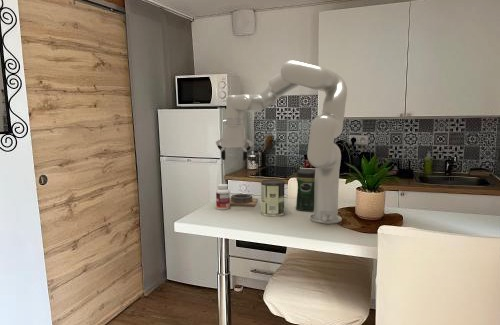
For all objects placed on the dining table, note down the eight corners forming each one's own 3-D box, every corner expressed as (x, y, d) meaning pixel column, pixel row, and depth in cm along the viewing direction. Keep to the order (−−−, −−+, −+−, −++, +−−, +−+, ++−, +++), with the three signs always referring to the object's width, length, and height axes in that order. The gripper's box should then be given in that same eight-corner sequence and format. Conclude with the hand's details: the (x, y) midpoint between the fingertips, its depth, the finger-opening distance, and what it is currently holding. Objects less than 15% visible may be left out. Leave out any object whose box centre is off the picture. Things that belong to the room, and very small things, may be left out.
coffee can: (277, 209, 166) (278, 178, 165) (288, 215, 157) (289, 182, 155) (257, 211, 162) (257, 180, 161) (266, 217, 153) (266, 183, 151)
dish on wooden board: (254, 206, 171) (254, 199, 171) (225, 205, 173) (225, 198, 173) (257, 200, 185) (257, 193, 185) (230, 199, 187) (230, 192, 186)
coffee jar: (318, 208, 169) (319, 168, 167) (316, 212, 161) (317, 170, 159) (297, 206, 172) (298, 167, 170) (294, 210, 164) (295, 169, 162)
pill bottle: (216, 207, 171) (216, 183, 170) (229, 206, 171) (229, 183, 170) (216, 210, 165) (216, 186, 163) (230, 209, 165) (229, 185, 164)
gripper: (214, 122, 164) (213, 160, 166) (252, 123, 162) (251, 161, 164) (217, 122, 171) (217, 158, 173) (254, 122, 169) (253, 159, 171)
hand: (234, 160), depth 169 cm, fingers open, 9 cm apart
